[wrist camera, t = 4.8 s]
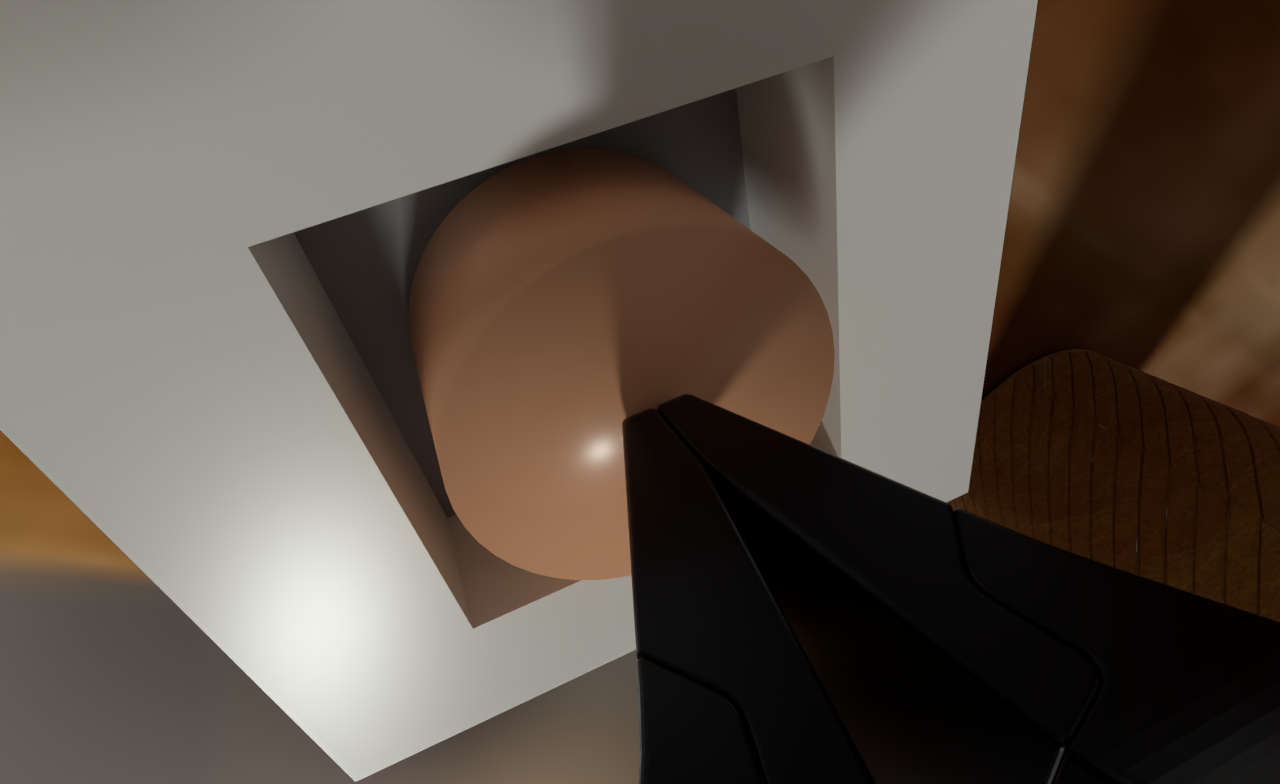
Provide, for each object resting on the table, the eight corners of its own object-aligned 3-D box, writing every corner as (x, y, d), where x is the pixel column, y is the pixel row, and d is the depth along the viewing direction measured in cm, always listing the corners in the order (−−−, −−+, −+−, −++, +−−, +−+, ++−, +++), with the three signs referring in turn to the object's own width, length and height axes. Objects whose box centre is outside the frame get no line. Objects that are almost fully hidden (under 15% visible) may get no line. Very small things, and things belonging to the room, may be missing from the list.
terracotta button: (705, 99, 10) (829, 161, 7) (741, 383, 13) (837, 488, 10) (344, 218, 9) (358, 328, 7) (476, 492, 12) (517, 633, 10)
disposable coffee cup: (1065, 234, 17) (1991, 632, 8) (1197, 360, 22) (1834, 685, 13) (824, 531, 20) (1284, 1083, 10) (993, 580, 25) (1395, 973, 16)
